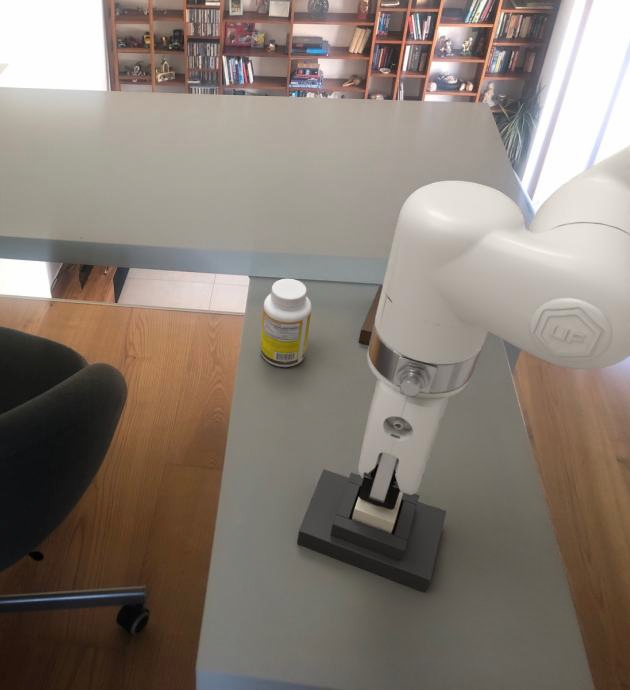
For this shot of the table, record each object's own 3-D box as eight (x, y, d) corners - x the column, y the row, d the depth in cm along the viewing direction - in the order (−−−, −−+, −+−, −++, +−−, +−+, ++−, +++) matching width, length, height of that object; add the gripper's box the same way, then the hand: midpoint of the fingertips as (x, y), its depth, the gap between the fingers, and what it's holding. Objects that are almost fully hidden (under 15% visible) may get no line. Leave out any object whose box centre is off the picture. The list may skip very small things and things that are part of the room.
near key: (399, 503, 65) (403, 492, 64) (391, 534, 62) (394, 523, 61) (361, 490, 66) (364, 479, 65) (351, 520, 64) (354, 508, 63)
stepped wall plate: (441, 523, 67) (450, 499, 65) (425, 593, 62) (435, 569, 59) (320, 482, 71) (325, 457, 69) (296, 543, 66) (300, 519, 63)
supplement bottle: (284, 333, 89) (291, 268, 82) (314, 357, 86) (324, 291, 79) (250, 350, 87) (255, 285, 80) (280, 375, 83) (287, 309, 76)
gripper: (459, 435, 45) (401, 582, 57) (489, 304, 55) (434, 453, 67) (345, 400, 47) (313, 548, 59) (393, 280, 57) (357, 428, 69)
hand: (377, 497), depth 63 cm, fingers closed
